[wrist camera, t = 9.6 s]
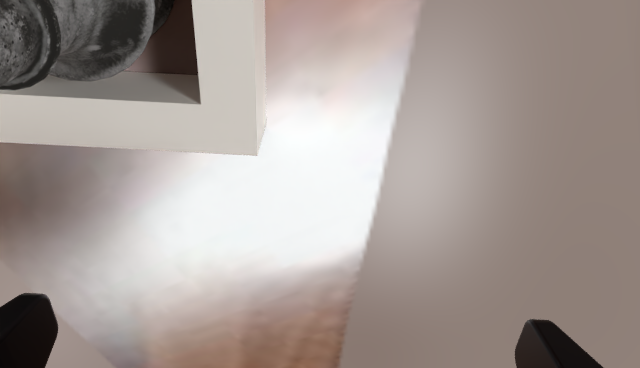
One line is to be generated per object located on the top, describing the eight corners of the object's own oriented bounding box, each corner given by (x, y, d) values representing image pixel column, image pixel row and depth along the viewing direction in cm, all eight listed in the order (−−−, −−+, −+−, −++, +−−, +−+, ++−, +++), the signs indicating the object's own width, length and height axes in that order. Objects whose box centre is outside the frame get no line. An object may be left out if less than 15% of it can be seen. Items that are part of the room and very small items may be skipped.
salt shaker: (-4, -111, 17) (-518, -96, 7) (161, -128, 16) (-120, -141, 6) (58, 56, 20) (-229, 239, 10) (198, 45, 20) (50, 224, 9)
